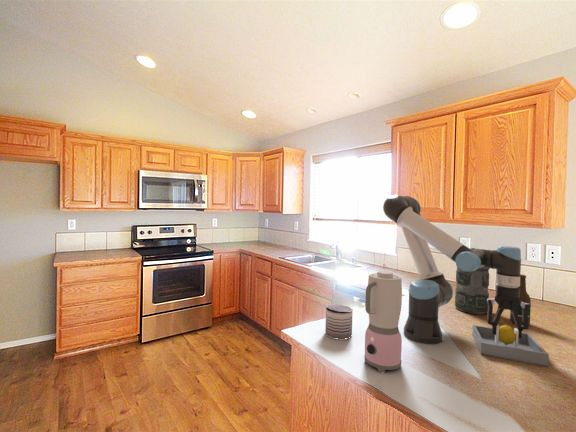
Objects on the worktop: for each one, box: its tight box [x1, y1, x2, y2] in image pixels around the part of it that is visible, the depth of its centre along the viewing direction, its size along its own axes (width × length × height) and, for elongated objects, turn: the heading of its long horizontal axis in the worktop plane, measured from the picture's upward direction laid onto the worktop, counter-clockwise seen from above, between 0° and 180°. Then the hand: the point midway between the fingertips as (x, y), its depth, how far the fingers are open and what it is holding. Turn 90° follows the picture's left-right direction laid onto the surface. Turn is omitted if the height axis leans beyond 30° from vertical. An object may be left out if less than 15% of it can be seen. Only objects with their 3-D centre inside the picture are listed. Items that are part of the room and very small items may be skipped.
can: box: [324, 303, 354, 339], centre depth 126 cm, size 11×11×12 cm
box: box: [471, 324, 550, 368], centre depth 116 cm, size 20×20×4 cm
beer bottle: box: [509, 273, 532, 327], centre depth 145 cm, size 8×8×24 cm
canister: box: [454, 265, 491, 315], centre depth 164 cm, size 16×16×28 cm
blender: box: [364, 270, 403, 373], centre depth 101 cm, size 16×12×32 cm
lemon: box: [499, 324, 515, 345], centre depth 116 cm, size 6×6×8 cm
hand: (506, 344), depth 116 cm, fingers closed on lemon, 5 cm apart
